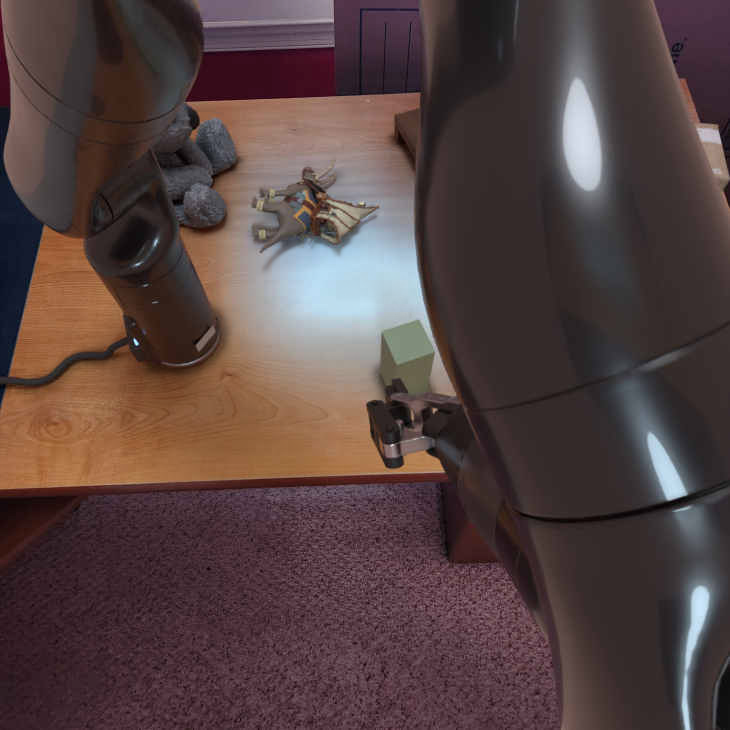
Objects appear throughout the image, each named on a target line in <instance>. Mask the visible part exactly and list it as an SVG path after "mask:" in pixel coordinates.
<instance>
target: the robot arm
mask: <svg viewBox="0 0 730 730" xmlns="http://www.w3.org/2000/svg"><path fill="white" fill-rule="evenodd" d="M416 1H417V6H418V7H417V8H418V19H419V35H420V86H419V87H420V88H419V89H420V91H419V92H420V93H419V106H418V109H419V119H418V133H417V146H416V160H415V166H414V167H415V169H414V189H413V190H414V192H413V227H414V229H413V231H414V232H413V233H414V246H415V256H416V269H417V273H418V279H419V284H420V290H421V295H422V301H423V305H424V309H425V312H426V316H427V320H428V323H429V329H430V330H431V331H430V332H431V335H432V337H433V340H434V343H435V345H436V348H437V351H438V354H439V357H440V359H441V362H442V365H443V367H444V369H445V372H446V374H447V376H448V379H449V381H450V383H451V385H452V388H453V390H454V392H455V394H456V395H455V396H452V395H447V394H442V393H438V392H433V391H428V390H427V391H426V392H424V393H421V394H419V395H411V394H409V393H408V390H407V389H406V387H405V385H404V384H403V382H402V380H401V379H400V378H397V379H391V384H392V385H390V386H386V385H385V387H384V395H385V402H384V401H383V400H381V399H372V400H370V401H367V402H366V403H365V406H366V407H365V408H366V412H367V415H368V416H367V417H368V423H369V434H370V438H371V440H372V442H373V444H374V446H375V448H376V450H377V452H378V455H379V457H380V458H381V460H382V462H383V464H384V467H385V468H386V469H390V470H397V469H400V468H402V467H403V466H404V465H405V458H404V457H406V456H408V455H410V454H414V453H415V454H416V453H419V452H424V451H425V453H426V454H428V455H429V456H431V457H433V458H435V459H437V460H439V463H440V465H441V467H442V469H443V471H444V473H445V475H446V477H447V478H448V480H449V482H450V484H451V486H452V488H453V490H454V491H455V493H456V495H457V498H458V499H459V500H460V502H461V507H462V509H463V511H464V513H465V516H466V518H467V520H468V521H469V522H470V523H471V524H472V525H473V526H474V527H475V529H476V531H477V533H478V536H480V538H481V540H482V541H483V543H484V544H485V546H486V547H487V548H488V549H489V550H490V552H491V553H492V554H493V555H494V556H495V558H496V559H497V560H499V562H500V563H501V565H502V567H503V568H504V570H505V572H506V573H507V575H508V577H509V579H510V581H511V582H512V584H513V586H514V588H515V589H516V591H517V593H518V595H519V597H520V598H521V600H522V602H523V604H524V606H525V608H526V610H527V611H528V613H529V615H530V616H531V618H532V620H533V622H534V623H535V626H536V627H537V628H538V630H539V631H540V633H541V634H542V636H543V637H544V638H545V640H546V641H547V643H548V645H549V649H550V654H551V661H552V668H553V675H554V683H555V684H554V685H555V692H556V693H555V694H556V702H557V709H558V710H557V711H558V719H559V729H560V730H730V210H729V208H728V206H727V203H726V200H725V198H724V196H723V194H722V193H723V192H722V193H721V191H720V188H719V186H718V183H717V181H716V178H715V176H714V173H713V171H712V168H711V165H710V163H709V160H708V158H707V155H706V152H705V150H704V147H703V145H702V142H701V139H700V137H699V134H698V132H697V129H696V126H695V123H696V122H695V121H694V118H693V114H692V112H691V109H690V106H689V103H688V102H687V101H688V100H687V98H686V95H685V92H684V89H683V86H682V84H681V81H680V78H679V74H678V73H677V70H676V67H675V64H674V60H673V58H672V57H673V56H672V55H671V51H670V48H669V46H668V42H667V39H666V37H665V31H664V30H663V27H662V23H661V20H660V17H659V14H658V11H657V7H656V5H655V1H654V0H416ZM0 10H1V21H2V30H3V31H2V33H3V40H4V51H5V56H6V62H7V67H8V73H9V93H10V94H9V96H10V98H9V99H10V116H9V123H8V129H7V133H6V138H5V142H4V146H3V165H4V168H5V172H6V175H7V178H8V180H9V182H10V184H11V187H12V188H13V190H14V192H15V194H16V195H17V197H18V198H19V200H20V201H21V203H22V204H23V205H24V206H25V208H26V209H27V210H28V211H29V212H30V213H31V214H32V215H33V216H34V217H35V218H36V219H37V220H38V221H40V223H42V224H43V225H44V226H46V227H47V228H48V229H50V230H51V231H54V232H55V233H57V234H58V235H61V236H64V237H67V238H71V239H75V240H83V242H82V243H83V251H84V255H85V257H86V260H87V261H88V263H89V265H90V266H91V268H92V269H93V270H94V272H95V274H96V275H97V276H98V278H99V279H100V280H101V282H102V284H103V285H104V287H105V288H106V290H107V291H108V292H109V294H110V295H111V297H112V298H113V300H114V301H115V302H116V304H117V305H118V307H119V308H120V309H121V311H122V319H123V320H122V321H123V324H124V329H125V334H126V337H123V338H120V339H119V340H116V341H115V342H113V343H111V344H110V345H109V346H108V347H107V348H106V350H104V351H79V352H75V353H73V354H71V355H69V356H67V357H66V358H64V359H63V360H62V361H61V362H60V363H59V364H58V365H57V366H56V367H55V368H54V369H53V370H52V371H50V372H49V373H48V374H46V375H44V376H41V377H37V378H36V377H35V378H24V377H23V378H22V377H15V376H0V386H2V385H13V386H25V387H35V386H36V387H37V386H42V385H45V384H48V383H51V382H52V381H54V380H56V379H57V378H58V377H59V376H60V375H61V374H62V373H63V372H64V371H65V370H66V369H67V368H68V367H69V366H70V365H72V364H73V363H76V362H77V361H81V360H104V359H108V358H111V356H113V354H114V353H115V352H116V351H117V350H118V349H121V348H123V347H125V346H127V345H128V348H129V352H130V353H131V355H132V356H133V357H134V359H135V360H136V362H137V363H142V362H145V361H148V360H149V361H150V363H151V364H152V365H153V367H159V366H165V367H168V368H172V369H173V368H174V369H187V368H191V367H194V366H196V365H199V364H201V363H203V362H204V361H206V360H207V359H208V358H210V357H211V355H212V354H214V352H215V351H216V349H217V348H218V346H219V344H220V342H221V338H222V327H221V324H220V320H219V319H218V317H217V315H216V313H215V311H214V309H213V307H212V304H211V302H210V300H209V298H208V295H207V293H206V290H205V288H204V286H203V284H202V281H201V279H200V277H199V275H198V273H197V270H196V268H195V265H194V263H193V261H192V259H191V256H190V254H189V252H188V249H187V248H186V245H185V242H184V240H183V238H182V235H181V234H180V233H181V223H179V220H178V217H177V214H176V212H175V209H174V207H173V204H172V201H171V198H170V195H169V192H168V189H167V186H166V183H165V180H164V177H163V174H162V171H161V169H160V166H159V164H158V161H157V159H156V156H155V154H154V152H153V150H152V148H151V147H152V146H153V145H154V144H155V143H156V142H157V141H158V140H159V139H160V138H161V137H162V136H163V135H164V134H165V132H166V131H167V130H168V129H169V127H170V126H171V124H172V123H173V121H174V120H175V118H176V117H177V115H178V113H179V111H180V110H181V108H182V106H183V104H184V102H186V99H187V98H188V96H189V94H190V92H191V90H192V88H193V86H194V84H195V82H196V79H197V77H198V74H199V71H200V68H201V65H202V63H203V57H204V50H205V39H206V37H205V27H204V19H203V13H202V9H201V6H200V2H199V0H0ZM434 409H435V410H436V411H434ZM412 415H413V419H412Z"/></svg>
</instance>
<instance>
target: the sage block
mask: <svg viewBox="0 0 730 730" xmlns="http://www.w3.org/2000/svg"><path fill="white" fill-rule="evenodd" d="M435 355H436V351H435V349H434V346H433V344H432V342H431V340H430V338H429V336H428V335H427V332H426V330H425V328H424V326H423V324H422V322H421V320H420V318H419V319H415V320H413V321H409V322H405V323H403V324H400V325H397V326H394V327H390V328H387V329H384V330H382V331H381V336H380V366H379V367H380V369H379V374H380V376H381V378H382V380H383V383H384V385H385V387H386V386H390V385H392V384H391V379H397V378H400V379H401V380H402V382H403V384H404V385H405V387H406V389H407V390H408V393H409V394H411V395H416V396H418V395H420V394H422V393H424V392H426V391H428V389H429V385H430V381H431V380H430V379H431V374H432V370H433V365H434V361H435Z"/></svg>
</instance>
